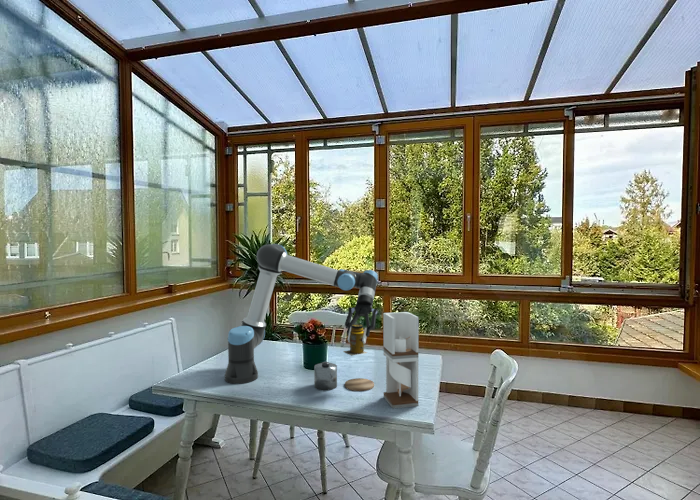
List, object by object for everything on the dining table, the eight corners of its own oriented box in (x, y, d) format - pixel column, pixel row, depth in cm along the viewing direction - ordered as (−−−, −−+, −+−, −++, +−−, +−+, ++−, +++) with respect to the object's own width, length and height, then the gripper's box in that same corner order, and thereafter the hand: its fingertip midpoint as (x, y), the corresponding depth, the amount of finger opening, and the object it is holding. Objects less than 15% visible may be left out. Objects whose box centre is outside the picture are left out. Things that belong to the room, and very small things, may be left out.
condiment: (367, 353, 176) (367, 325, 176) (351, 356, 172) (351, 328, 172) (358, 349, 183) (358, 322, 182) (342, 352, 178) (342, 325, 178)
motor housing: (311, 384, 182) (310, 361, 181) (331, 380, 186) (330, 358, 186) (320, 392, 173) (319, 367, 173) (340, 387, 178) (340, 364, 177)
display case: (383, 397, 167) (383, 313, 166) (407, 394, 170) (407, 311, 169) (392, 408, 156) (392, 318, 155) (418, 405, 159) (418, 317, 157)
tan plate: (339, 383, 183) (339, 381, 183) (364, 378, 189) (364, 376, 189) (353, 393, 172) (353, 390, 172) (379, 387, 178) (379, 385, 178)
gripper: (386, 304, 191) (379, 347, 176) (348, 302, 197) (337, 344, 182) (384, 294, 186) (376, 338, 171) (344, 293, 191) (333, 335, 176)
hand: (356, 341), depth 176 cm, fingers closed on condiment, 6 cm apart
